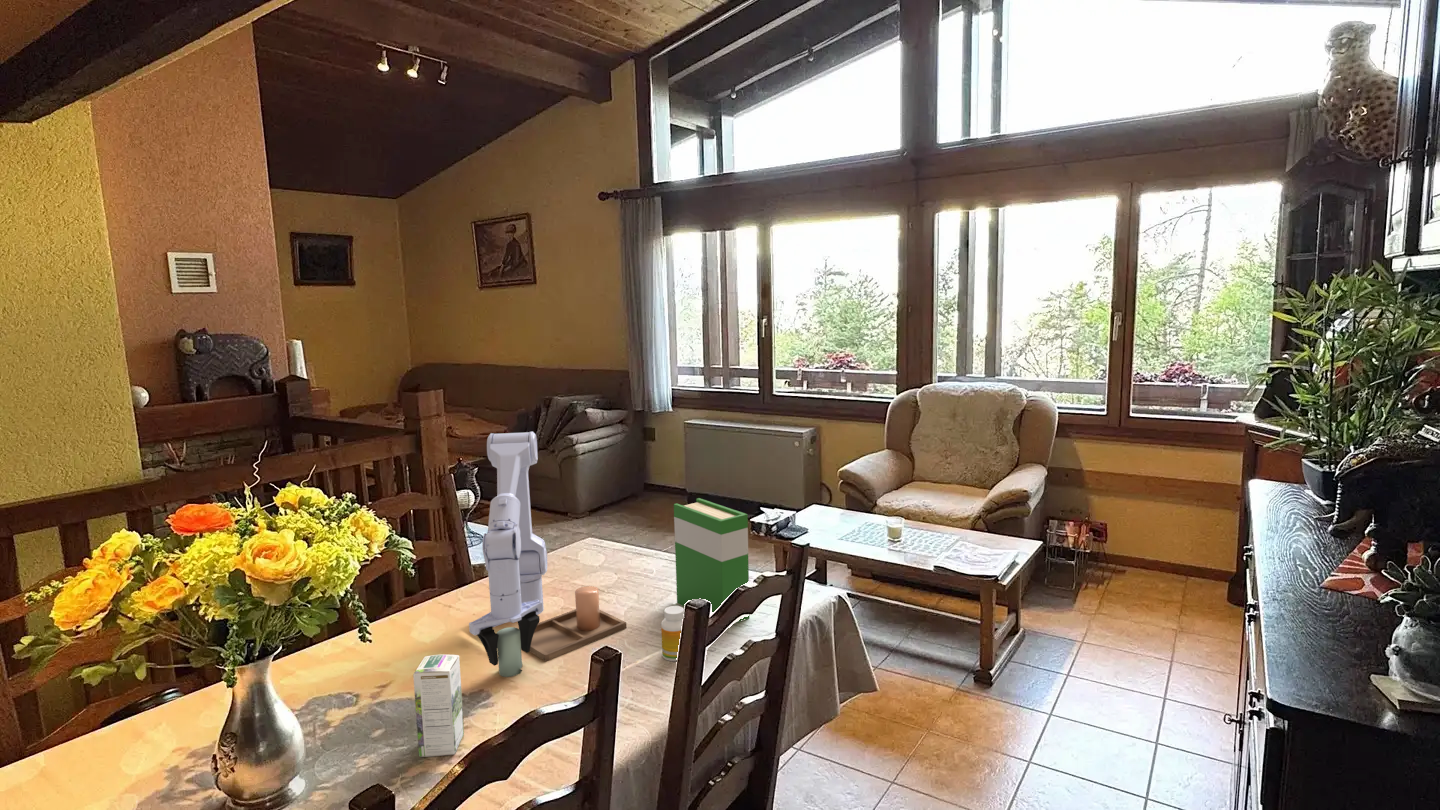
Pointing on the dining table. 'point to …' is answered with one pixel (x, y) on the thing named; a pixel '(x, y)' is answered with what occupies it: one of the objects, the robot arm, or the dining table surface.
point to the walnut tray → (569, 634)
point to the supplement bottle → (671, 631)
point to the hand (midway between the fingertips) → (509, 657)
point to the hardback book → (710, 551)
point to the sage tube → (509, 652)
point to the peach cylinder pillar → (587, 608)
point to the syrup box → (438, 705)
